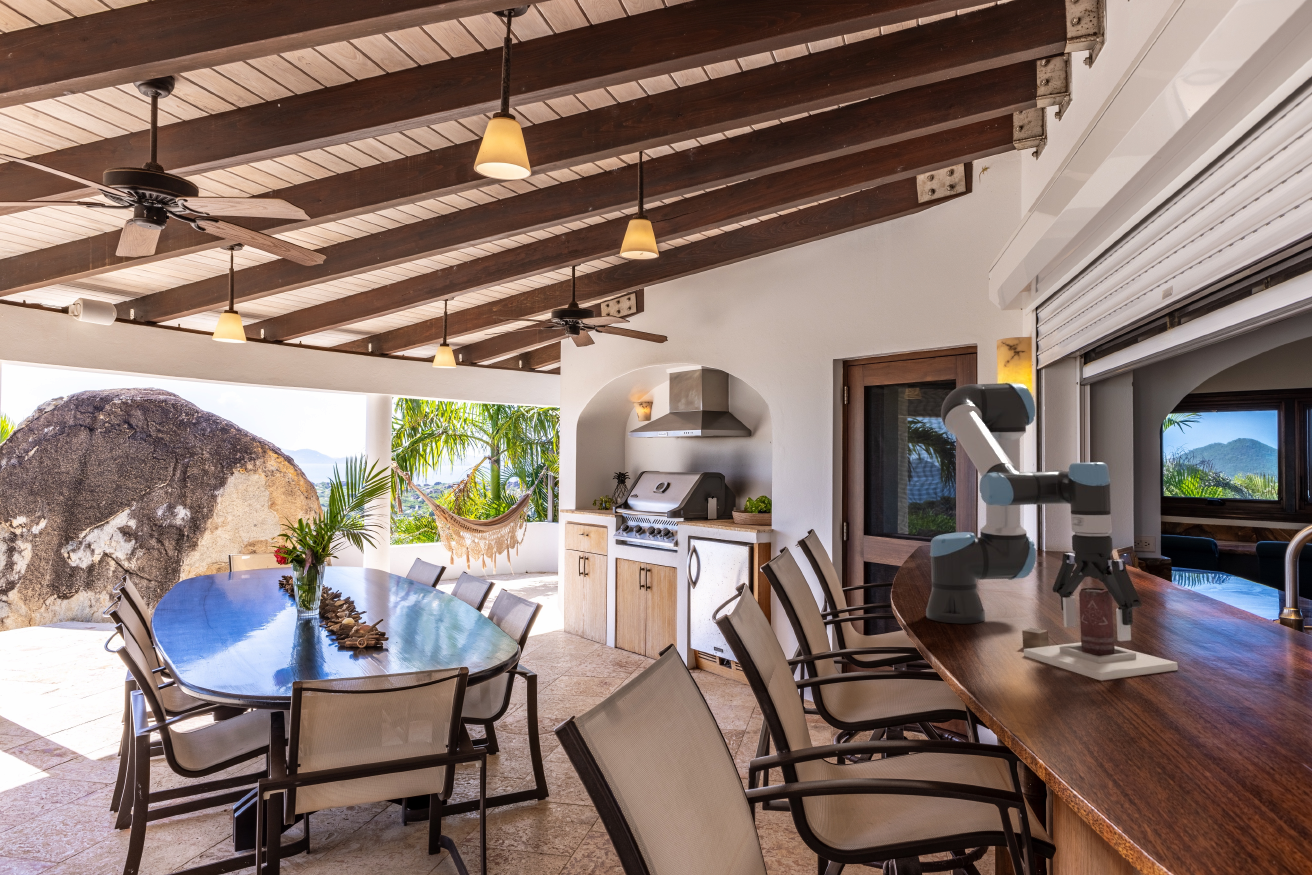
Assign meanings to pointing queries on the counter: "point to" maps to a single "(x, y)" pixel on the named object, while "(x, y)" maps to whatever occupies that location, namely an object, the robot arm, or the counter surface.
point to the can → (1096, 621)
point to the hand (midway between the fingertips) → (1096, 633)
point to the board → (1100, 661)
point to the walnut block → (1035, 638)
